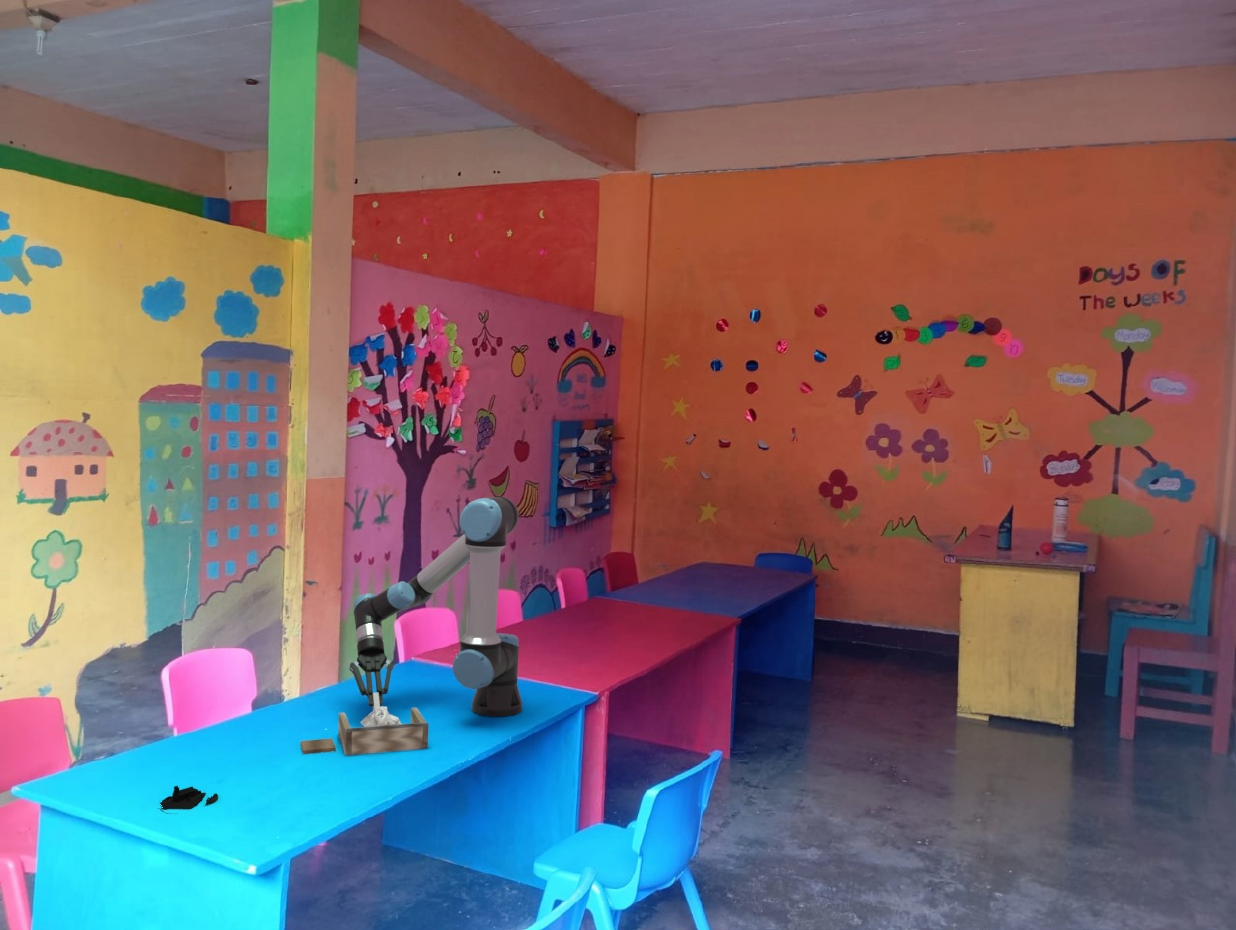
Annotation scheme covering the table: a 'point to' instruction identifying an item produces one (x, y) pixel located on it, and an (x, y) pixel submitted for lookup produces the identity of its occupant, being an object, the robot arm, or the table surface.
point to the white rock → (376, 719)
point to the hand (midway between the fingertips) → (377, 715)
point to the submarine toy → (186, 799)
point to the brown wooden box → (384, 736)
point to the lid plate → (318, 746)
